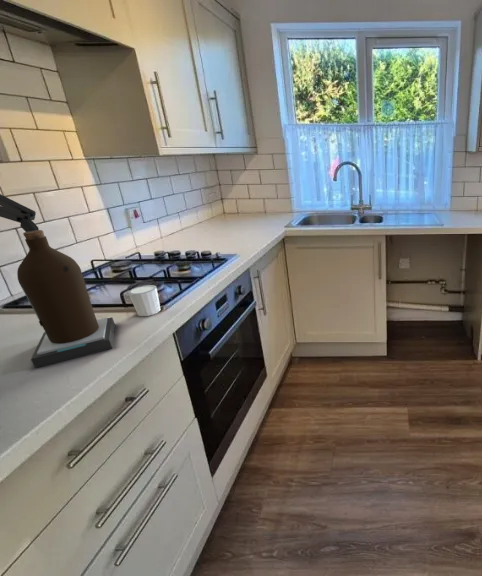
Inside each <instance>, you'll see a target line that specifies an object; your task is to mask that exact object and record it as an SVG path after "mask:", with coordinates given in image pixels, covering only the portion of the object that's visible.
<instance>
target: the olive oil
mask: <svg viewBox="0 0 482 576" xmlns="http://www.w3.org/2000/svg"><path fill="white" fill-rule="evenodd" d="M22 235H23V236H24V238H25V239H24V241H25V243H26V245H27V247H28V250H29V251H28V252H27V254H26V255H25V256H24V258H23V259H22V261H21V262H20V264H19V266H18V268H17V271H16V272H17V273H16V275H17V281H18V284H19V286H20V287H21V289H22V291H23V293H24V295H25V296H26V298H27V300H28V302H29V304H30V306H31V307H32V310H33V311H34V313H35V315H36V317H37V320H38V323H39V325H40V327H42V328H43V330H44V332H45V333H46V335H47V337H48V339H49V340H50V342H52V343H68V342H73V341H76V340H80V339H82V338H85V337H87V336H89V335H91V334H93V333H94V332H96V331H97V330H98V328H99V325H98V322H97V320H98V319H97V316H96V314H95V311H94V308H93V304H92V301H91V297H90V295H89V292H88V288H87V285H86V282H85V279H84V276H83V275H84V274H83V272H82V269H81V267H80V265H79V264H78V263H77V261H76V260H75V259H74V258H73V257H71V256H70V255H68V254H65V253H64V252H61V251H60V250H57V249H55V248H53V247H52V246H50V244H49V241H48V239H47V236H46V235H45V233H44V230H42V229H39V230H34V231H28V232H25V231H24V232H23V233H22Z"/></svg>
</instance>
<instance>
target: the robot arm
mask: <svg viewBox="0 0 482 576" xmlns="http://www.w3.org/2000/svg"><path fill="white" fill-rule="evenodd" d="M36 213H37V212H36V210H33V209H31V208H29V207H27V206H25V205H23V204H21V203H19V202H17V201H15V200H13V199H11V198H9V197H7V196H5V195H3V194H1V193H0V218H3V219H7V220H10V221H12V222H17V223H19V224H20V225H19V226H20V228H21V229H22V230H23V231H24V232H28V231H34V230H40V228H39V226H38V225H37V224H36V223H35V222H34V221H35V219H36Z"/></svg>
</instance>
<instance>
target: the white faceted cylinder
mask: <svg viewBox="0 0 482 576" xmlns="http://www.w3.org/2000/svg"><path fill="white" fill-rule="evenodd" d="M127 293H128V296H129V298H130V300H131V303H132V305H133V307H134V309H135V311H136V313H137V316H139V317H148V316H152V315H155V314H157V313H159V312H160V311H161V304H160V299H159V294H158V288H157V285H153V284H152V285H150V284H147V285H140V286H136V287H133V288H132V289H130V290H128V292H127Z"/></svg>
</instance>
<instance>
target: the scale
mask: <svg viewBox="0 0 482 576" xmlns="http://www.w3.org/2000/svg"><path fill="white" fill-rule="evenodd" d="M97 322H98V325H99V328H98V330H97V331H96V332H94V333H93V334H91V335H89V336H87V337H85V338H82V339H80V340H76V341H73V342H68V343H52V342H50V340H49V339H48V337H47V335H46V333H45V331H44V332H43V334H42V336H41V338H40V339H39V342H38V343H37V345H36V347H35V350H34V352H33V353H32V356H31V358H30V360H31V362H32V364H33V366H34V368H35V369H38V368H41V367H45V366H48V365H49V366H50V365H53V364H57V363H60V362H64V361H68V360H72V359H76V358H80V357H84V356H87V355H92V354H96V353H100V352H104V351H107V350H111V349H113V347H114V339H115V330H116V324H115V320H114V318H113V316H111V317H102V318H100V319H99V318H98V319H97Z"/></svg>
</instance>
